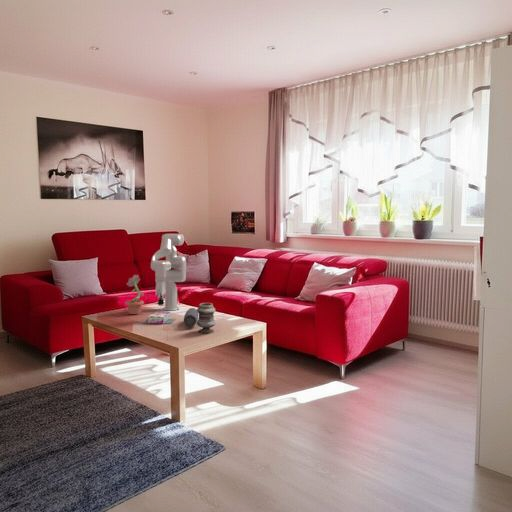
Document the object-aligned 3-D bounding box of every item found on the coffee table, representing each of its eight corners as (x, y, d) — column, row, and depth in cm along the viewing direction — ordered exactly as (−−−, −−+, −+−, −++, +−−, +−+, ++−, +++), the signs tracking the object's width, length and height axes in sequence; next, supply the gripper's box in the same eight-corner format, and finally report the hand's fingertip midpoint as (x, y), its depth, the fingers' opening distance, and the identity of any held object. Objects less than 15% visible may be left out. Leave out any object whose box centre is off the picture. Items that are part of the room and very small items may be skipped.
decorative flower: (137, 311, 353) (136, 272, 350) (148, 313, 345) (148, 274, 342) (121, 314, 341) (120, 274, 338) (133, 316, 333) (132, 276, 330)
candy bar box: (154, 318, 327) (147, 323, 311) (154, 311, 327) (147, 316, 310) (170, 318, 326) (163, 323, 310) (170, 311, 325) (163, 316, 309)
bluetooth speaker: (197, 328, 299) (197, 314, 298) (183, 329, 298) (182, 314, 297) (199, 321, 321) (199, 307, 320) (185, 321, 320) (185, 307, 320)
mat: (148, 318, 326) (148, 318, 326) (176, 319, 325) (176, 318, 325) (142, 323, 312) (142, 322, 312) (171, 324, 311) (171, 323, 311)
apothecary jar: (195, 333, 286) (195, 305, 285) (198, 328, 298) (198, 302, 297) (214, 334, 286) (214, 305, 284) (216, 329, 298) (216, 302, 296)
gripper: (158, 277, 328) (158, 302, 329) (152, 280, 313) (153, 306, 314) (168, 277, 327) (168, 302, 329) (163, 280, 312) (163, 307, 314)
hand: (161, 304), depth 322 cm, fingers closed
